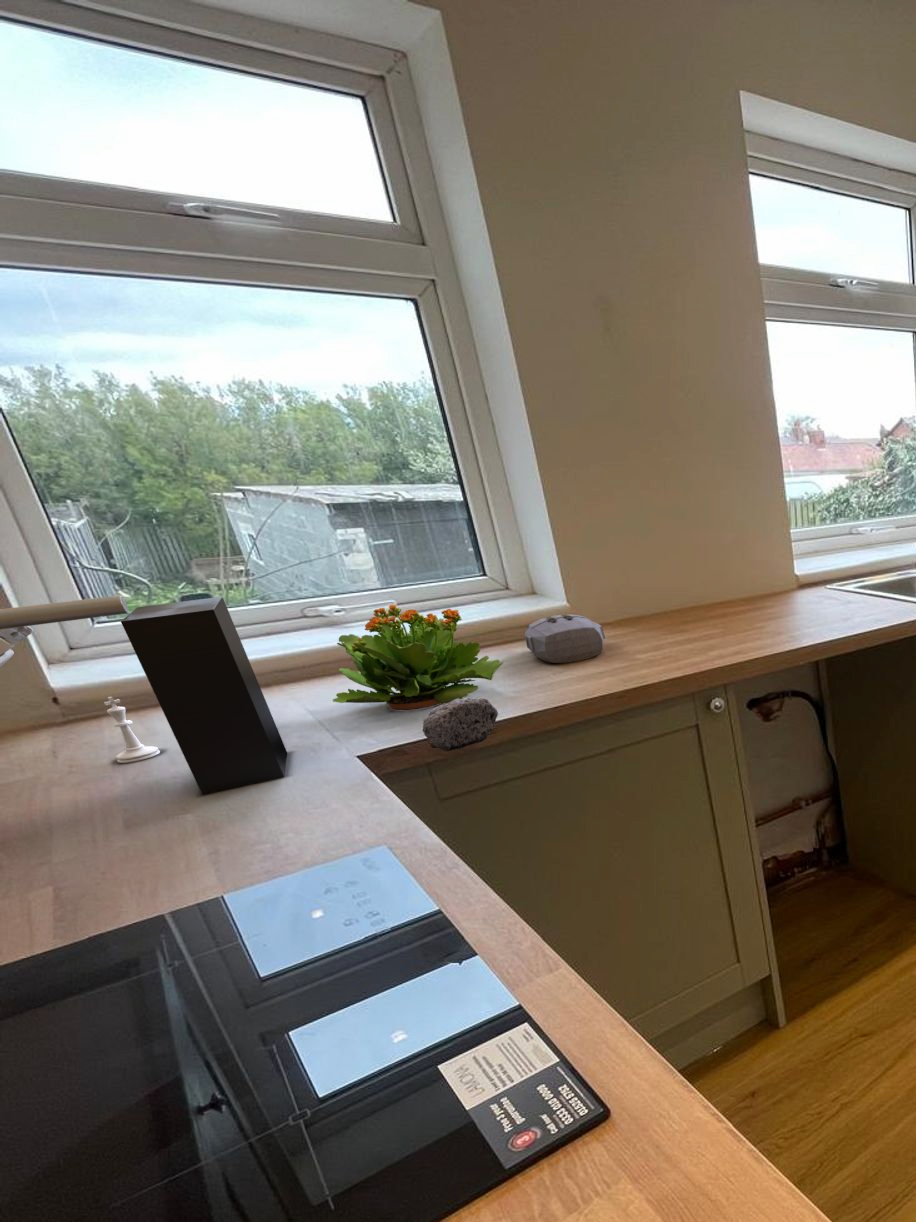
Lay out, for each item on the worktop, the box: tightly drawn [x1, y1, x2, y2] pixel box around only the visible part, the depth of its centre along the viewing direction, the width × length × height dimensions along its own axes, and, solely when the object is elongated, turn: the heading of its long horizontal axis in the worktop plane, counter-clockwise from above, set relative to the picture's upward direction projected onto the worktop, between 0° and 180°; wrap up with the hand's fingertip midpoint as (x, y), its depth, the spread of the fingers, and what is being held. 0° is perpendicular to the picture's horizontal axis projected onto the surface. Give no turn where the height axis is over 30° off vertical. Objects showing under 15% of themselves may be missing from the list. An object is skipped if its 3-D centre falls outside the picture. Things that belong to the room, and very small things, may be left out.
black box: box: [120, 596, 288, 796], centre depth 115 cm, size 9×12×25 cm
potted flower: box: [332, 604, 504, 712], centre depth 145 cm, size 25×24×18 cm
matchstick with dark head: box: [0, 594, 130, 630], centre depth 103 cm, size 18×3×3 cm, turn 128°
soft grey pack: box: [524, 613, 606, 664], centre depth 176 cm, size 15×8×20 cm
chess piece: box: [103, 696, 161, 764], centre depth 127 cm, size 5×5×10 cm
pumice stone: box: [422, 697, 499, 752], centre depth 128 cm, size 10×8×10 cm
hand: (16, 633), depth 103 cm, fingers open, 8 cm apart
